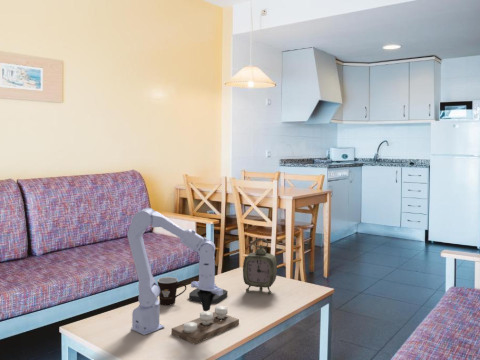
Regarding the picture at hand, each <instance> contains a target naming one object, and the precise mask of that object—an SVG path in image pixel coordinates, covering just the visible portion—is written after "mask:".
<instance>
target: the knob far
mask: <svg viewBox="0 0 480 360" xmlns="http://www.w3.org/2000/svg"><path fill="white" fill-rule="evenodd" d="M214 312H215V314H216V315H217V318H218V319H224V318H225V315H228V307H227V306H225V305H218V306H215V307H214Z"/></svg>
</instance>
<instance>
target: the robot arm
mask: <svg viewBox="0 0 480 360" xmlns="http://www.w3.org/2000/svg"><path fill="white" fill-rule="evenodd" d="M150 226H151V228H161V229H163V230H165V231H167V232H169V233H171V234H173V235H175V236H176V237H177V238H179V239H180V243H181V244H183V245H184V246H186V247H188V248H189V249H191V250H192V251H194V252H196V253H197V254H198V256H199V262H198V273H199V274H198V281H196V280H193V281H191V283H190V287H191V288H193V289H194V288H195V289H197V288H198V289H200V291H198V292H197V294H198V296H199V298H200V300H201V302H200V304H201V306H202V312H204V311H210V309H211V305H212V304H211V303H212V300H213V298H214V296H215V294H217V295H218V296H220V295H223V289H224V288H221V287H219V286H217V283H216V282H215V281H216V280H215V278H216V277H215V275H216V267H215V265H216V261H215V259H216V257H215V253H216V244H215V243H214V242H213V241H212V239H208V238H207V237H205V236H204V237H203V236H202V235H200V234H199V233H197V232H196V230H195V229H190V228H188V229H184V228H183V227H181V226H179V224H176V223H175V222H174V221H172V220H171V219H170V218H168V217H166V216H165V215H163V213H160V212H159V211H157V210H154V209H153V208H151V207H144V208H142V209H141V210H140V211H138V212H136V213H135V214H134V215H133V217H131V221H130V224H129V228H128V229H127V234H126V235H127V240H128V244H129V248H130V251H131V255H132V259H133V263H134V268H135V270H136V274H137V279H138V306H137V307H135V308H134V309H133V310H132V312H131V313H132V315H131V316H132V317H131V318H132V319H131V320H132V322H131V323H132V325H131V326H132V327H131V328H130V330H133V331H134V332H137V333H139V334H141V335H143V336H145V335H147V334H150V333H151V334H152V333H153V332H155V331H158V330H161V329H164V328H165V325H163V324H160V305H161V304H160V300H159V299H158V298H159V295H160V288H159V286H158V283H157V281H156V278H155V277H154V275H153V274H152V273H153V272H152V270H151V269H152V268H151V264H150V260H149V258H148V257H149V256H148V254H147V250H146V246H145V241H144V237H143V234H145V232H146V230H147V228H149V227H150ZM220 288H221V289H220Z"/></svg>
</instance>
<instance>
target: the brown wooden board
mask: <svg viewBox="0 0 480 360" xmlns="http://www.w3.org/2000/svg"><path fill="white" fill-rule="evenodd" d="M212 313H213V320H212V321H210V325H203V324H202V321H201V320H200V317H199V318H198V317H197V318H195V319H193V320H190V321H189V322H194V323H196V324H197V331H196V332H194V333H186V332H184V331H183V328H184V324H185V323H182V324H180V325H178V326H174V327H171V335H173V336H175V337H177V338H180V339H182V340H184V341H186V342H189V343H191V344H194V345H197V343H200V342H203V341H205V340H207V339H210V338H212V337H213V336H214V337H215V336H216V335H219V334H220V333H222V332H225V331H227V330H229V329H232V328H234V327H236V326H238V325H240V319H239V318H236V317H235V316H234V317H233V316H232V315H228V314H226V315H225V318H224V319H218V318H217V315H216V314H215V311H213V312H212Z"/></svg>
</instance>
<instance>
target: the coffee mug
mask: <svg viewBox="0 0 480 360" xmlns="http://www.w3.org/2000/svg"><path fill="white" fill-rule="evenodd" d="M156 282H157V285H158V286H159V288H160V295H159V296H158V298H159V299H158V300H159V302H160V304H159V305H160V306H173V305H175V304H176V299H177V298H178V297H179V296H181V295H182V294H184V293H185V292H186V290H187V285H186V284H185V283H183V282H181V283H178V282H179V279H178V278H177V277H174V276H173V277H171V276H165V277H160V278H158V279H157V281H156ZM180 285H183V286H184V290H183V291H182V292H180V293H178V294H177V289H178V288H179V287H180Z"/></svg>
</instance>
